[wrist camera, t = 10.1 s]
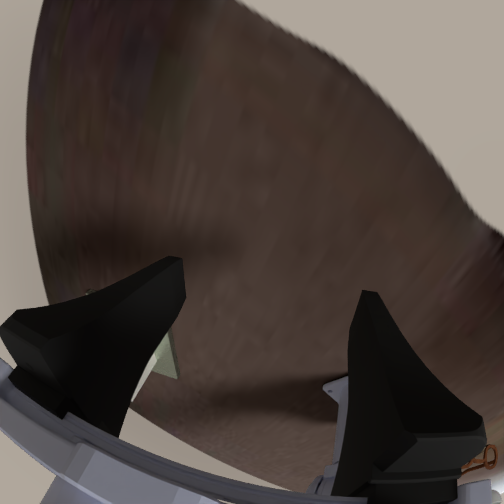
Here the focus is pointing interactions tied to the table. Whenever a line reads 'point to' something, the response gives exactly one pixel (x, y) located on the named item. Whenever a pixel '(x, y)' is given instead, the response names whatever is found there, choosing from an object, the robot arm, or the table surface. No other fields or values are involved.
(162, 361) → the duct stub
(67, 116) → the table surface
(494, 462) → the glasses
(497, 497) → the serving bowl
